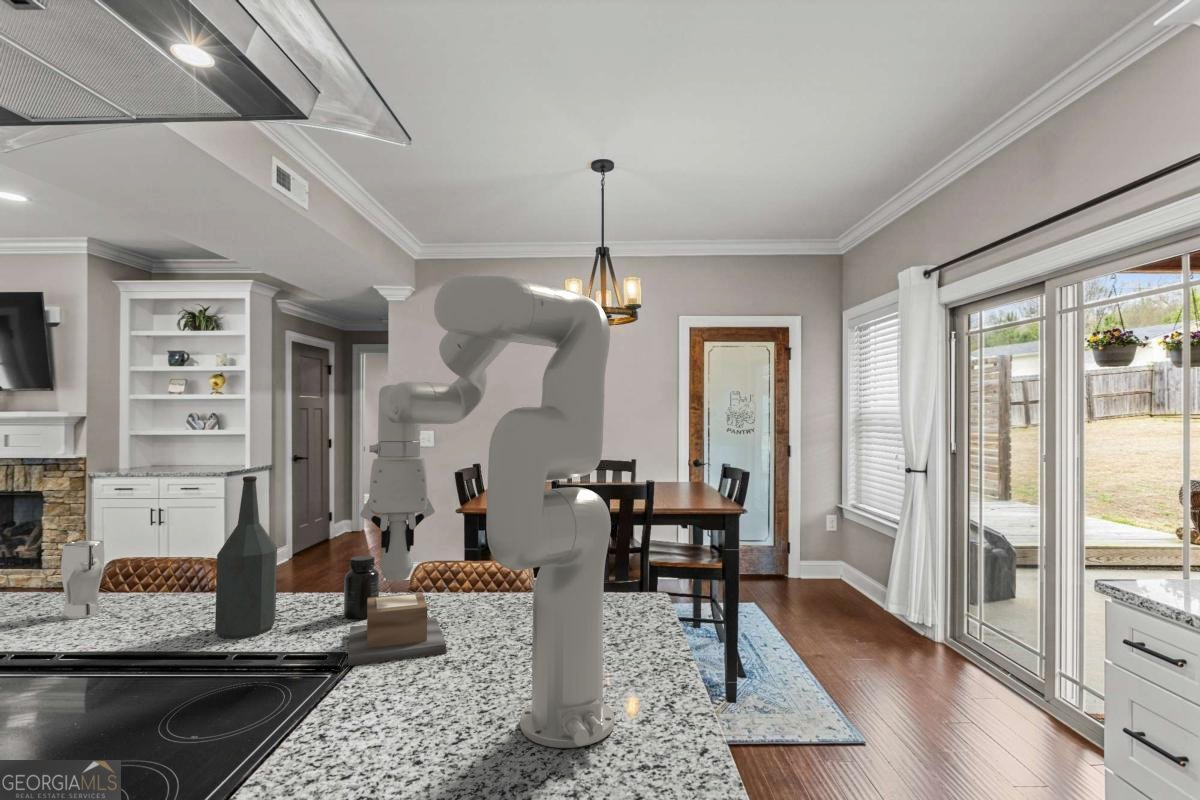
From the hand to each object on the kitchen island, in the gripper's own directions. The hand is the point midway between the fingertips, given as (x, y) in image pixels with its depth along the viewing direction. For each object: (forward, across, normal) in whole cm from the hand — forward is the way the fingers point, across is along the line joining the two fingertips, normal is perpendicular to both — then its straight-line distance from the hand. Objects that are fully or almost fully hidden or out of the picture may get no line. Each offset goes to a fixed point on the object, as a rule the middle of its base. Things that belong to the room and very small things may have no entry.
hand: (397, 549), depth 112 cm
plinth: (+17, 0, 0) cm, 17 cm away
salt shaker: (+5, 0, 0) cm, 5 cm away
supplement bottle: (+17, -6, +20) cm, 27 cm away
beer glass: (+17, -61, +41) cm, 75 cm away
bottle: (+17, -27, +18) cm, 37 cm away
